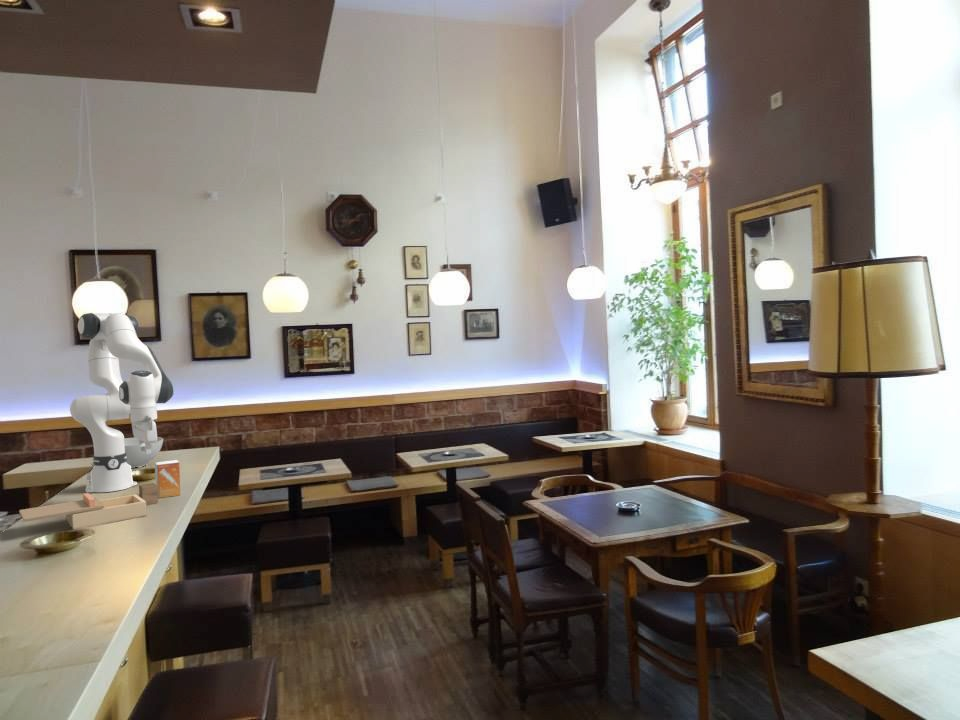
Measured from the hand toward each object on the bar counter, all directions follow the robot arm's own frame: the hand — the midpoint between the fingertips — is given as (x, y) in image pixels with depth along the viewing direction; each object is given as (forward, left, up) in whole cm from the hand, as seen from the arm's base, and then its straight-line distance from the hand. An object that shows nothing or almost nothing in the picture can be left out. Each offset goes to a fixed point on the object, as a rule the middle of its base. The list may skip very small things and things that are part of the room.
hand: (145, 452), depth 250 cm
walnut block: (0, 0, -19) cm, 19 cm away
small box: (-8, +9, -19) cm, 23 cm away
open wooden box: (+11, -16, -19) cm, 27 cm away
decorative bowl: (-83, +13, -19) cm, 86 cm away
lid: (+11, -29, -14) cm, 34 cm away
